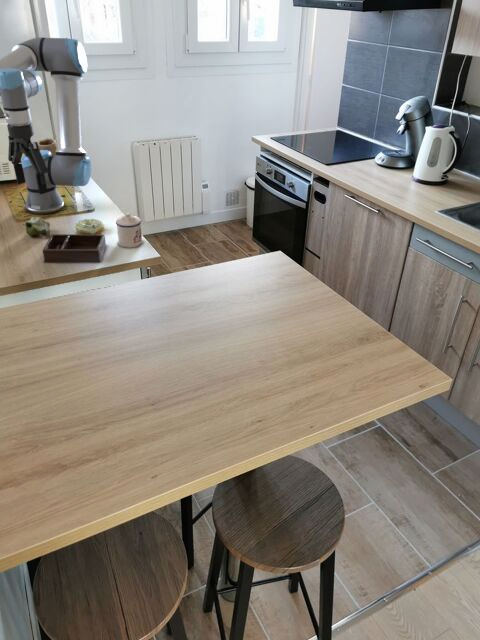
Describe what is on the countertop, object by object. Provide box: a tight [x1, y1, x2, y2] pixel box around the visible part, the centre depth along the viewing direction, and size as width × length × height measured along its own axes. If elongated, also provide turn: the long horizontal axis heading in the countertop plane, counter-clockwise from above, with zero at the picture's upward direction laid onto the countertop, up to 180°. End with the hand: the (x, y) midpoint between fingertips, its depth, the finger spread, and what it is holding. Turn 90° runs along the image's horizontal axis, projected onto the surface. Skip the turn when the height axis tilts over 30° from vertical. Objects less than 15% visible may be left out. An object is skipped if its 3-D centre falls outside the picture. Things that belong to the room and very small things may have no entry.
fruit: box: [22, 216, 51, 238], centre depth 196 cm, size 9×9×8 cm
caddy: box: [42, 233, 107, 263], centre depth 184 cm, size 13×19×5 cm
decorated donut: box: [74, 218, 105, 235], centre depth 200 cm, size 10×11×4 cm
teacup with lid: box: [115, 212, 143, 248], centre depth 192 cm, size 12×9×12 cm
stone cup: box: [36, 137, 59, 156], centre depth 257 cm, size 15×12×15 cm
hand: (32, 188), depth 176 cm, fingers open, 13 cm apart
